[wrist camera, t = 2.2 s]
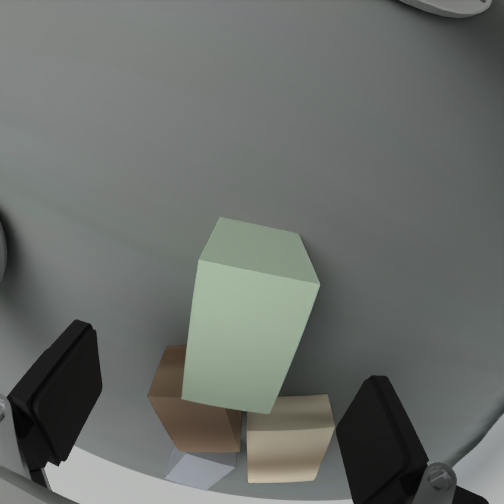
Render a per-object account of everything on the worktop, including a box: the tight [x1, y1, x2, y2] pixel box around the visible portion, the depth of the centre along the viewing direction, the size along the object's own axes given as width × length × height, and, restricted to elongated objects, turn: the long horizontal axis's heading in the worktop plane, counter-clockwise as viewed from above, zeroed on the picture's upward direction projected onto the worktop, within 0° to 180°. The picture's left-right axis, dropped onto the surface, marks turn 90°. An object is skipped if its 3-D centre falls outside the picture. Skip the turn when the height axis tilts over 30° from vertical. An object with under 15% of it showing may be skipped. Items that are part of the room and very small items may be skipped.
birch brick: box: [247, 394, 335, 483], centre depth 17 cm, size 8×5×3 cm, turn 0°
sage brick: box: [181, 217, 320, 414], centre depth 12 cm, size 6×4×5 cm, turn 168°
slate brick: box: [164, 446, 237, 490], centre depth 18 cm, size 6×4×3 cm, turn 153°
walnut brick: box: [147, 345, 242, 453], centre depth 14 cm, size 5×4×4 cm
